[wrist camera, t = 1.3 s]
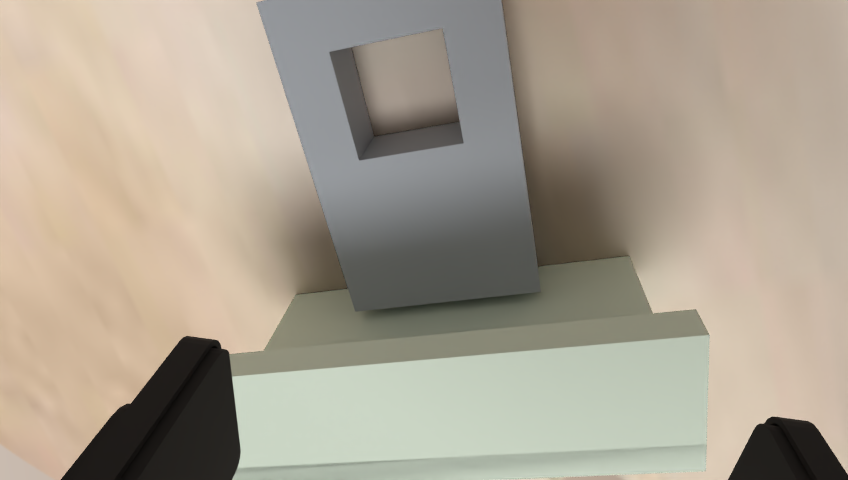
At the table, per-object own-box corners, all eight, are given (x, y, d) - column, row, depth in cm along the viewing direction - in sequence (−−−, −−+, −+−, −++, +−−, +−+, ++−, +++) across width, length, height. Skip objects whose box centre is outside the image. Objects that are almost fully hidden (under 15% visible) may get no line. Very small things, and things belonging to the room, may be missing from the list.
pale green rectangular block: (625, 176, 32) (709, 335, 19) (630, 276, 35) (706, 471, 22) (270, 227, 36) (147, 384, 23) (302, 312, 39) (207, 492, 26)
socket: (494, -55, 27) (493, -54, 23) (536, 256, 35) (540, 291, 31) (285, -5, 29) (256, 2, 26) (368, 276, 37) (355, 311, 33)
